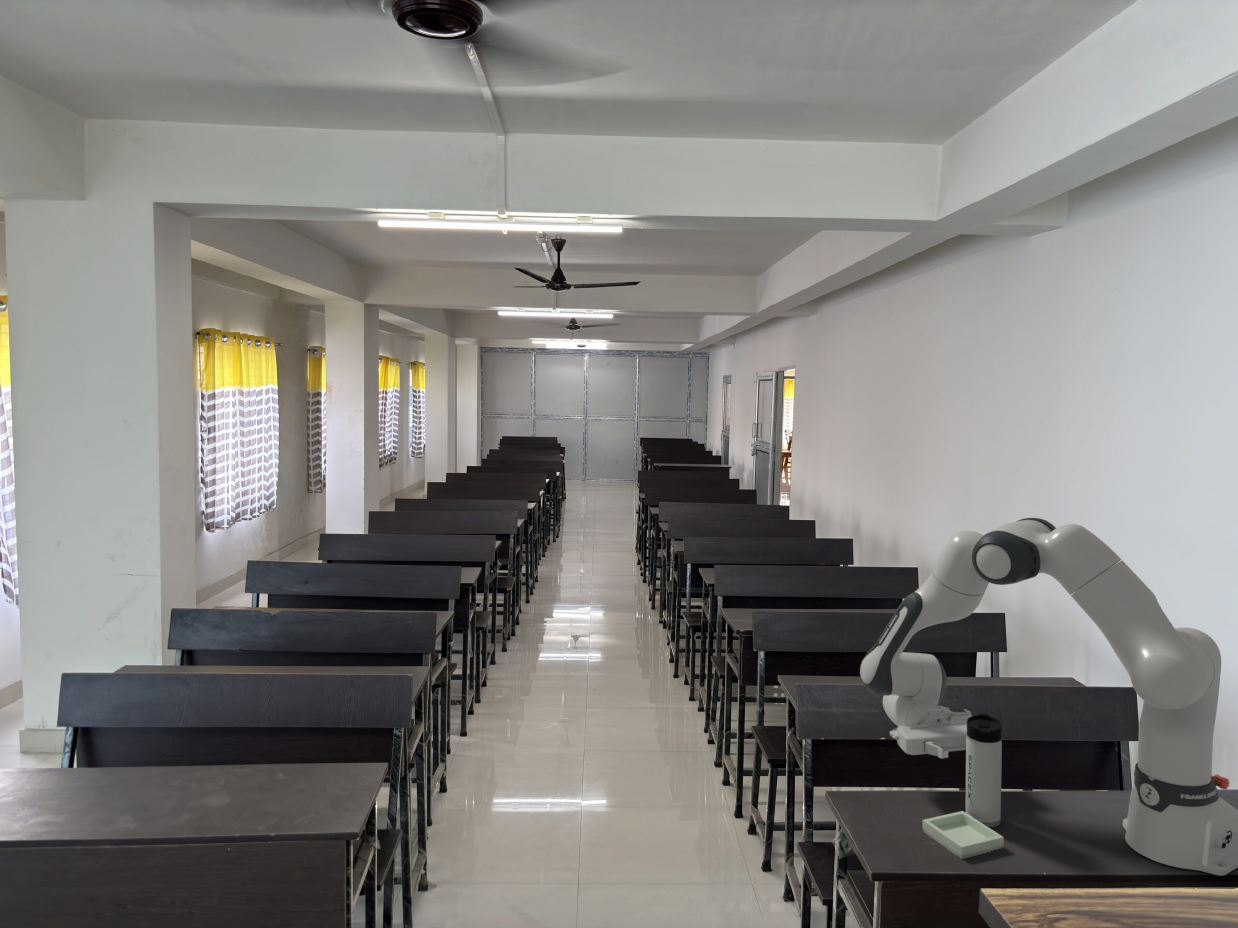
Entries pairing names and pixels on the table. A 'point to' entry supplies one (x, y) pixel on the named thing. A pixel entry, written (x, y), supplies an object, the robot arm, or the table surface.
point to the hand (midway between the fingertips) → (967, 752)
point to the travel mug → (983, 769)
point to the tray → (962, 834)
